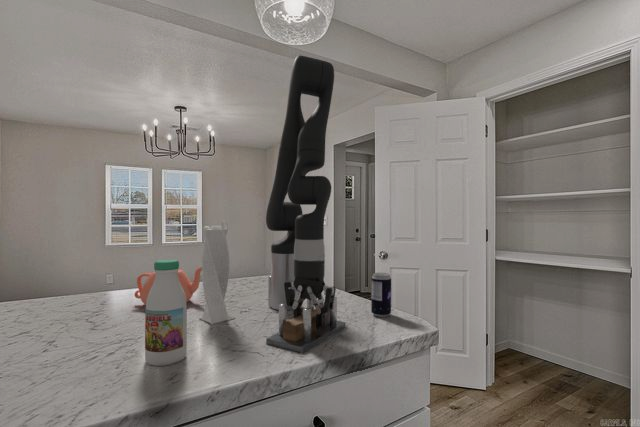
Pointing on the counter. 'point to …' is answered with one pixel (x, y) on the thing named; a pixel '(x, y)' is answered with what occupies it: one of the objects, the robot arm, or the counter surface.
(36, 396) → the counter surface
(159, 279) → the milk bottle
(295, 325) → the brown wooden bar
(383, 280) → the beverage can
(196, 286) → the teapot
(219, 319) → the skyscraper
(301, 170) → the robot arm
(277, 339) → the peg rack
